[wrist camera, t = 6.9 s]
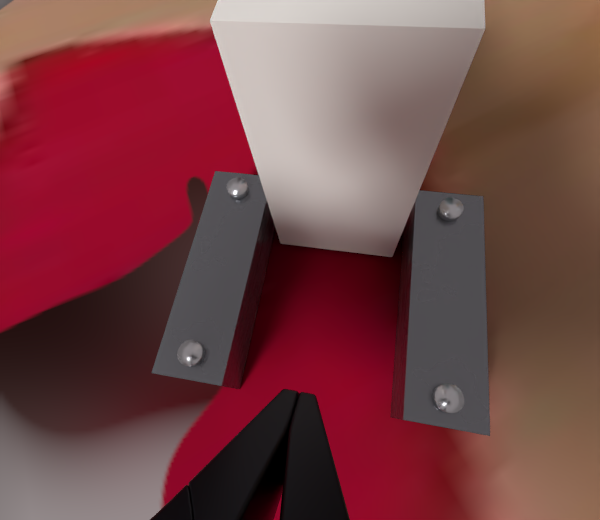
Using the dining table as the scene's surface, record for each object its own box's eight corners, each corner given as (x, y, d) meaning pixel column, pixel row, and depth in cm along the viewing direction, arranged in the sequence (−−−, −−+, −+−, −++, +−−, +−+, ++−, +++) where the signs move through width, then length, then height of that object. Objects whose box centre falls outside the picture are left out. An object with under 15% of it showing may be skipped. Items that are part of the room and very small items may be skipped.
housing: (461, 430, 15) (494, 436, 12) (180, 378, 17) (146, 371, 14) (461, 227, 19) (486, 191, 16) (230, 202, 21) (212, 166, 17)
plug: (392, 257, 18) (485, 28, 7) (280, 243, 19) (209, 20, 8) (401, 147, 21) (478, -143, 10) (302, 140, 22) (272, -135, 11)
